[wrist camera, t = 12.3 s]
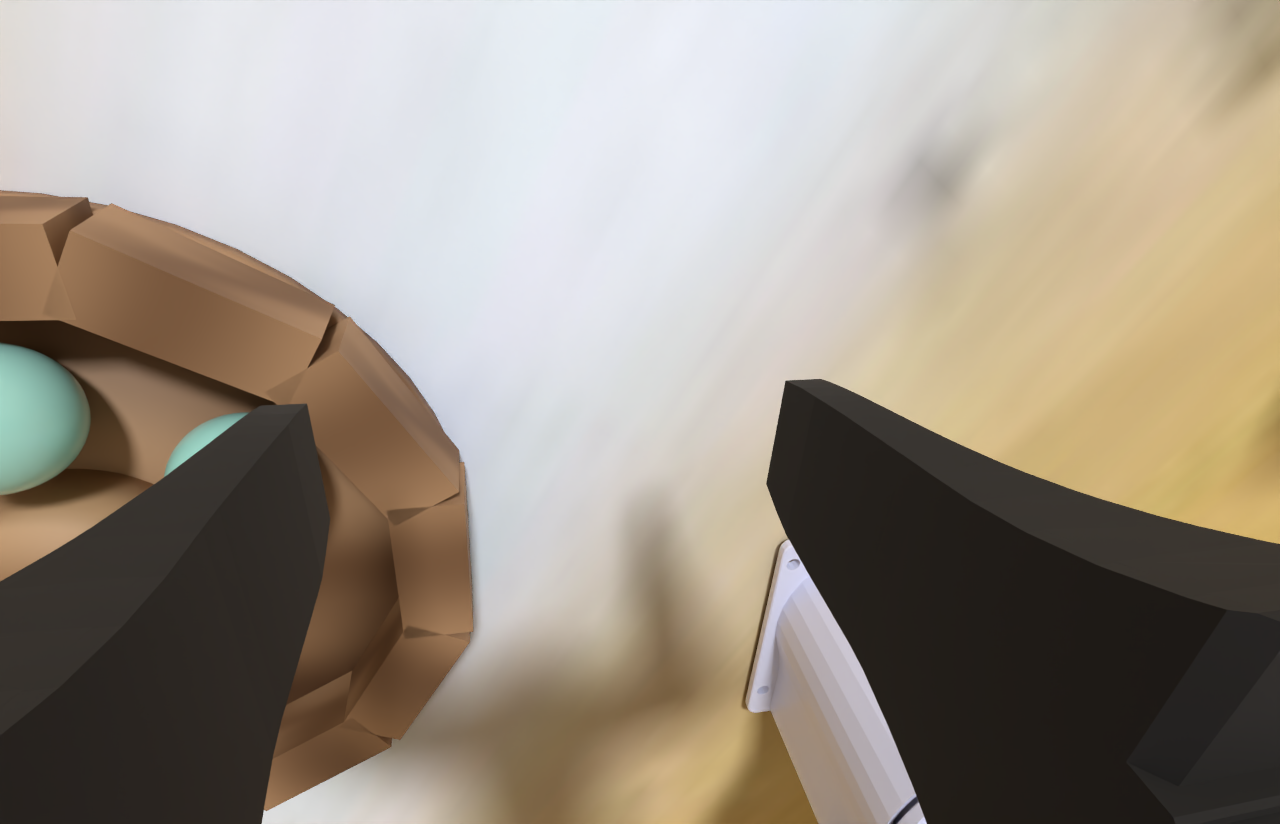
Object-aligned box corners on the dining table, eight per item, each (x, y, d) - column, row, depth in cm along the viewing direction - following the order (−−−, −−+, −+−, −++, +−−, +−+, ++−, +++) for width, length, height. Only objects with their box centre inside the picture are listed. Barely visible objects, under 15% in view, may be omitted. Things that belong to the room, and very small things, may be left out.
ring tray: (481, 716, 28) (483, 789, 25) (-142, 802, 23) (-215, 901, 21) (447, 197, 18) (445, 233, 15) (-665, 176, 13) (-930, 222, 11)
